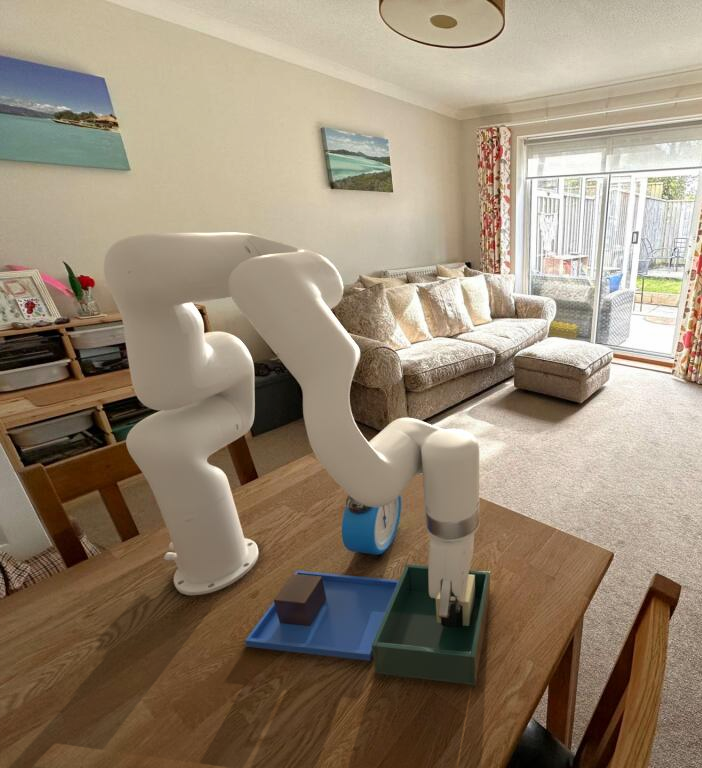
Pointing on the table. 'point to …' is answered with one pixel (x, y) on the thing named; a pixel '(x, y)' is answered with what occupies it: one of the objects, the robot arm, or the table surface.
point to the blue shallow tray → (332, 619)
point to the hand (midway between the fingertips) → (456, 607)
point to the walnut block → (300, 600)
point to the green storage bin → (429, 633)
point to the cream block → (463, 601)
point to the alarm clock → (370, 526)
